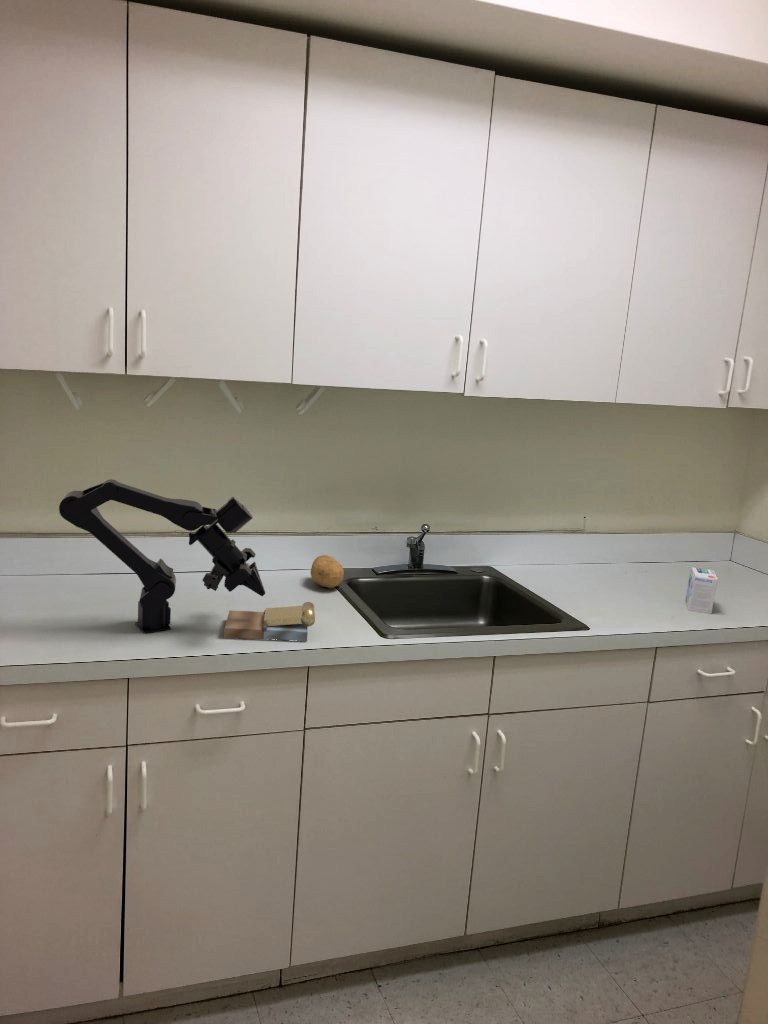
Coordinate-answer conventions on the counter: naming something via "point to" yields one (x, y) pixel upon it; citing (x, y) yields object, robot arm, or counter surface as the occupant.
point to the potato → (327, 571)
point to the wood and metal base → (260, 627)
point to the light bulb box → (701, 590)
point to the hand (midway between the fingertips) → (263, 594)
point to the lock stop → (290, 615)
